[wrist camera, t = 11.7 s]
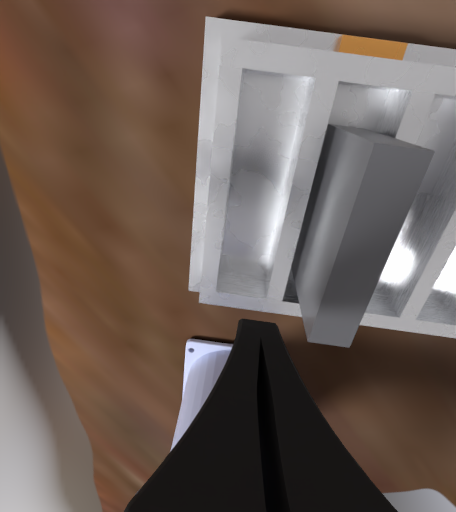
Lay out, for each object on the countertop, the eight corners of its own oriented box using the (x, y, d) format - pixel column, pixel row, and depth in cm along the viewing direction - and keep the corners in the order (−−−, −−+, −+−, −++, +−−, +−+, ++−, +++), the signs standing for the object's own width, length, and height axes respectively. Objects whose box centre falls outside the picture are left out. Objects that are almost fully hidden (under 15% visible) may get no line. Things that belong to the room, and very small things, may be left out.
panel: (320, 270, 20) (349, 347, 14) (291, 266, 20) (307, 341, 14) (365, 128, 16) (435, 151, 10) (327, 123, 16) (374, 142, 10)
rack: (451, 318, 23) (483, 354, 20) (191, 282, 23) (181, 312, 20) (606, 73, 15) (697, 68, 12) (208, 21, 15) (197, 2, 12)
